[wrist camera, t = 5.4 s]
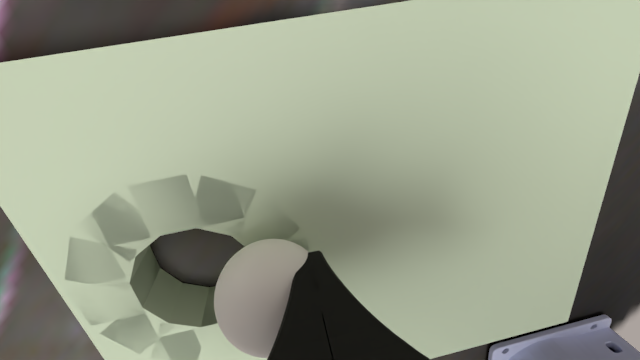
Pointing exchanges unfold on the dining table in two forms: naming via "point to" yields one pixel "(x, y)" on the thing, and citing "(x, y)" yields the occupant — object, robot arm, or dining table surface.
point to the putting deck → (328, 164)
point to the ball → (256, 293)
